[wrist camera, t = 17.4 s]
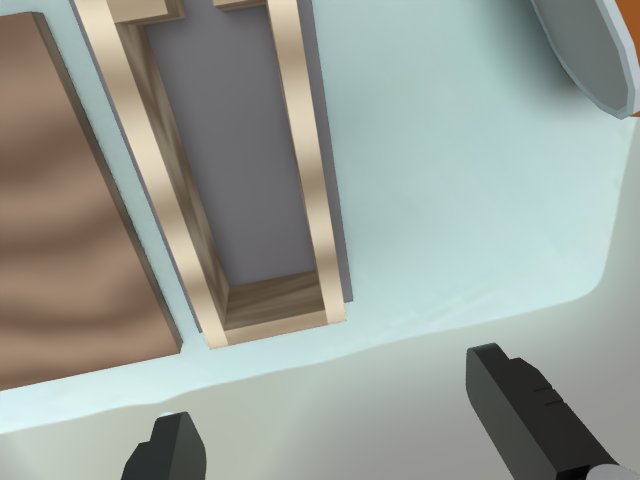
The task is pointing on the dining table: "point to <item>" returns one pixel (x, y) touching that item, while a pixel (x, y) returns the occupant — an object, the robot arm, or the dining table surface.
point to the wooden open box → (179, 185)
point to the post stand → (64, 230)
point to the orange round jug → (597, 49)
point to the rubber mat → (241, 138)
